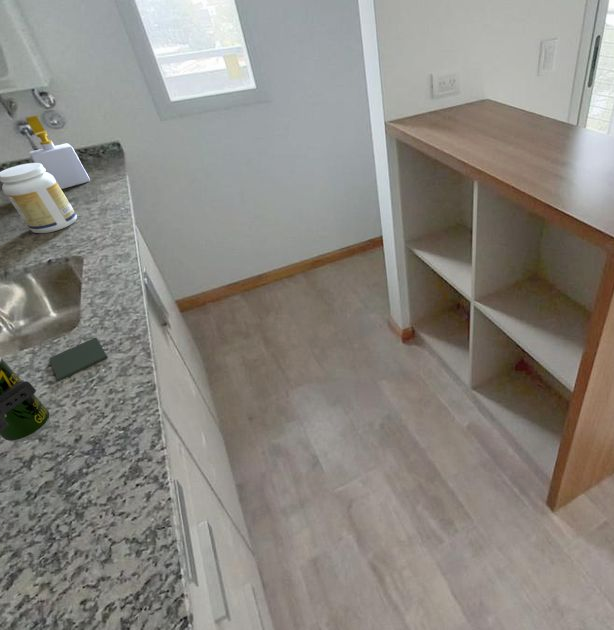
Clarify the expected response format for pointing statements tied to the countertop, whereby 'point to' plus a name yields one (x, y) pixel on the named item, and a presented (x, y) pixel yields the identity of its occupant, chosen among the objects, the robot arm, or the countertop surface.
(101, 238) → the countertop surface
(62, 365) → the coaster
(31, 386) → the robot arm
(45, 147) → the soap bottle
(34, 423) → the beer can
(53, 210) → the supplement tub
